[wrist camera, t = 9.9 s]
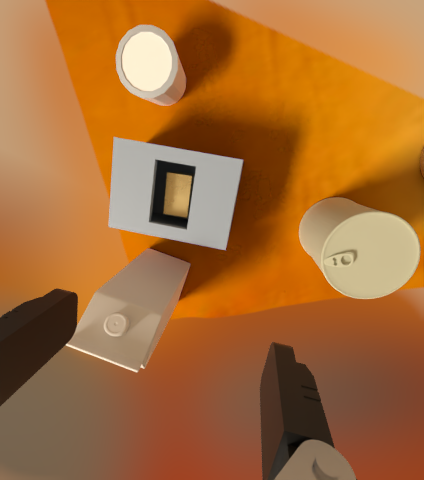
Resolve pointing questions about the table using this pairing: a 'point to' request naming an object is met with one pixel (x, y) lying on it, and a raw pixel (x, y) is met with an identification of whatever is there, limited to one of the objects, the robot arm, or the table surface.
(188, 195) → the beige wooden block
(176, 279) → the milk carton
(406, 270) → the can
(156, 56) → the white cup
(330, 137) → the table surface
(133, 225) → the coin box
